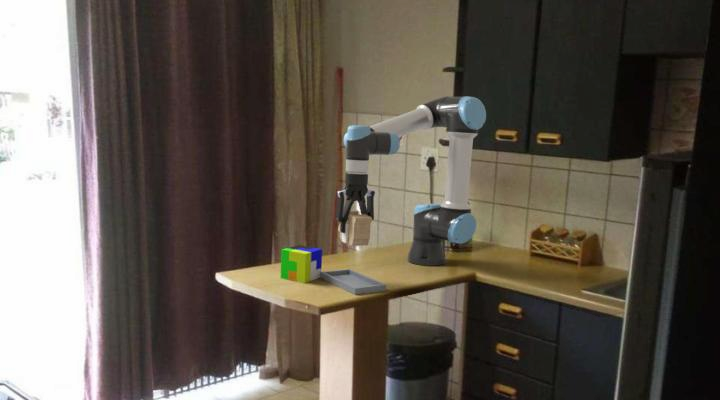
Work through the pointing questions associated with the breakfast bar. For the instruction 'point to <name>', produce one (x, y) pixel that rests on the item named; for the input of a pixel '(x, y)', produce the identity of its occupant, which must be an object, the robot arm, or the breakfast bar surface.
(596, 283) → the breakfast bar surface
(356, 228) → the toy train
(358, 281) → the tray
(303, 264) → the puzzle toy
